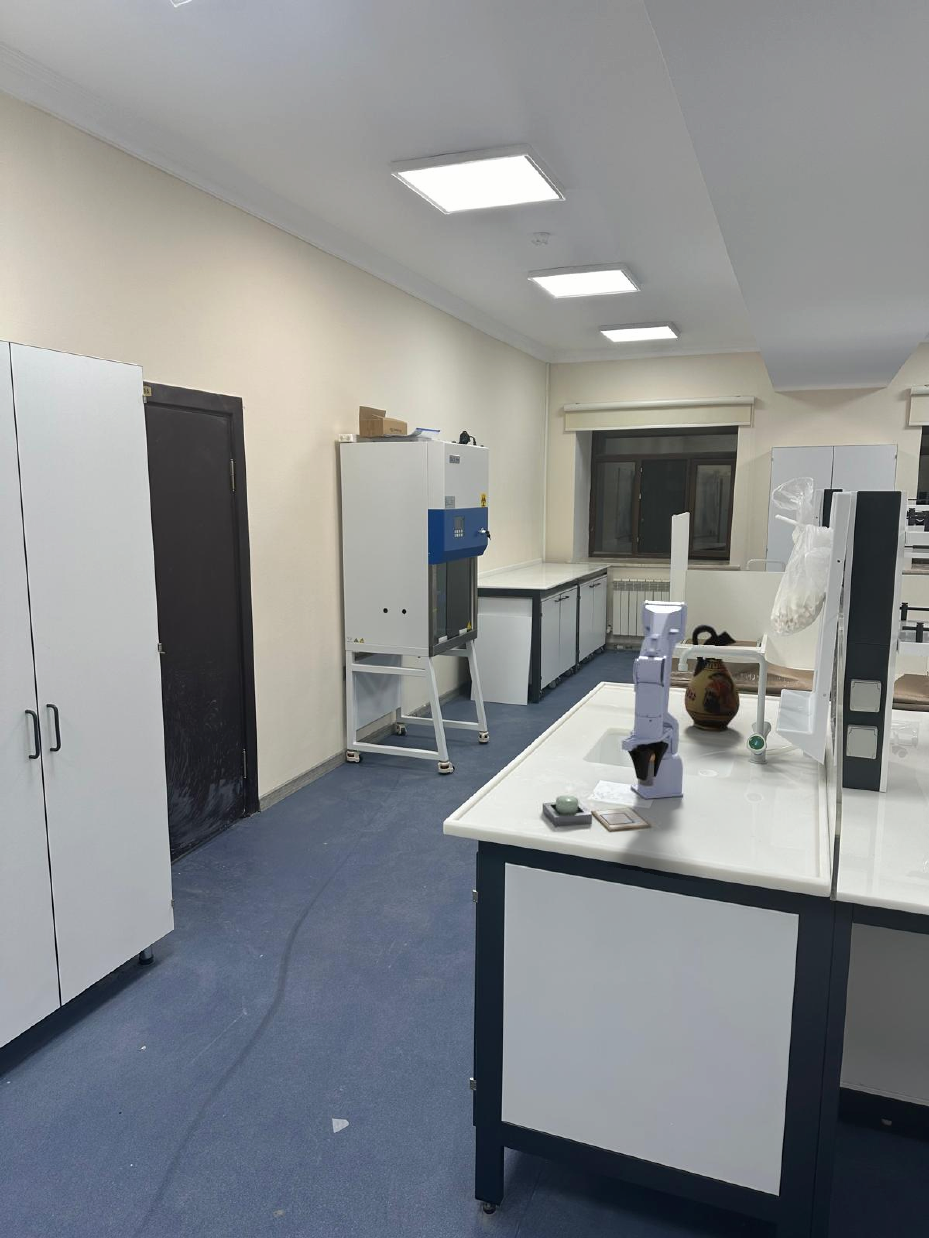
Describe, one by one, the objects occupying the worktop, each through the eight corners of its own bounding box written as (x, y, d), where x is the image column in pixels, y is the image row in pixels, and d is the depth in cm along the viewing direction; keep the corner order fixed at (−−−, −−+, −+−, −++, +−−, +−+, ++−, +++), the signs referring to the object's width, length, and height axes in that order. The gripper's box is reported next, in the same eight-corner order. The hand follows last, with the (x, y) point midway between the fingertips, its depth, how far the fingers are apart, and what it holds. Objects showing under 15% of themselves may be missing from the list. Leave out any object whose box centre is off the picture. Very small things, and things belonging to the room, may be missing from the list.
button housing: (578, 809, 175) (578, 800, 175) (591, 823, 167) (592, 814, 167) (542, 812, 173) (542, 803, 173) (554, 826, 165) (555, 817, 165)
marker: (650, 781, 172) (651, 751, 171) (656, 785, 169) (657, 755, 168) (636, 781, 172) (637, 752, 171) (642, 786, 169) (643, 756, 168)
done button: (573, 806, 173) (573, 794, 172) (581, 814, 168) (581, 802, 168) (552, 808, 172) (553, 796, 171) (560, 816, 167) (560, 804, 167)
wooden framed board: (630, 809, 175) (630, 806, 175) (651, 827, 165) (651, 824, 165) (591, 812, 173) (591, 810, 173) (609, 831, 163) (609, 828, 163)
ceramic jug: (736, 721, 245) (741, 623, 240) (740, 735, 230) (745, 631, 226) (677, 717, 249) (681, 620, 245) (678, 731, 234) (682, 628, 230)
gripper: (654, 704, 176) (652, 765, 178) (610, 715, 167) (609, 779, 169) (682, 711, 171) (679, 773, 172) (638, 723, 161) (636, 788, 163)
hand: (646, 777), depth 170 cm, fingers closed on marker, 3 cm apart
